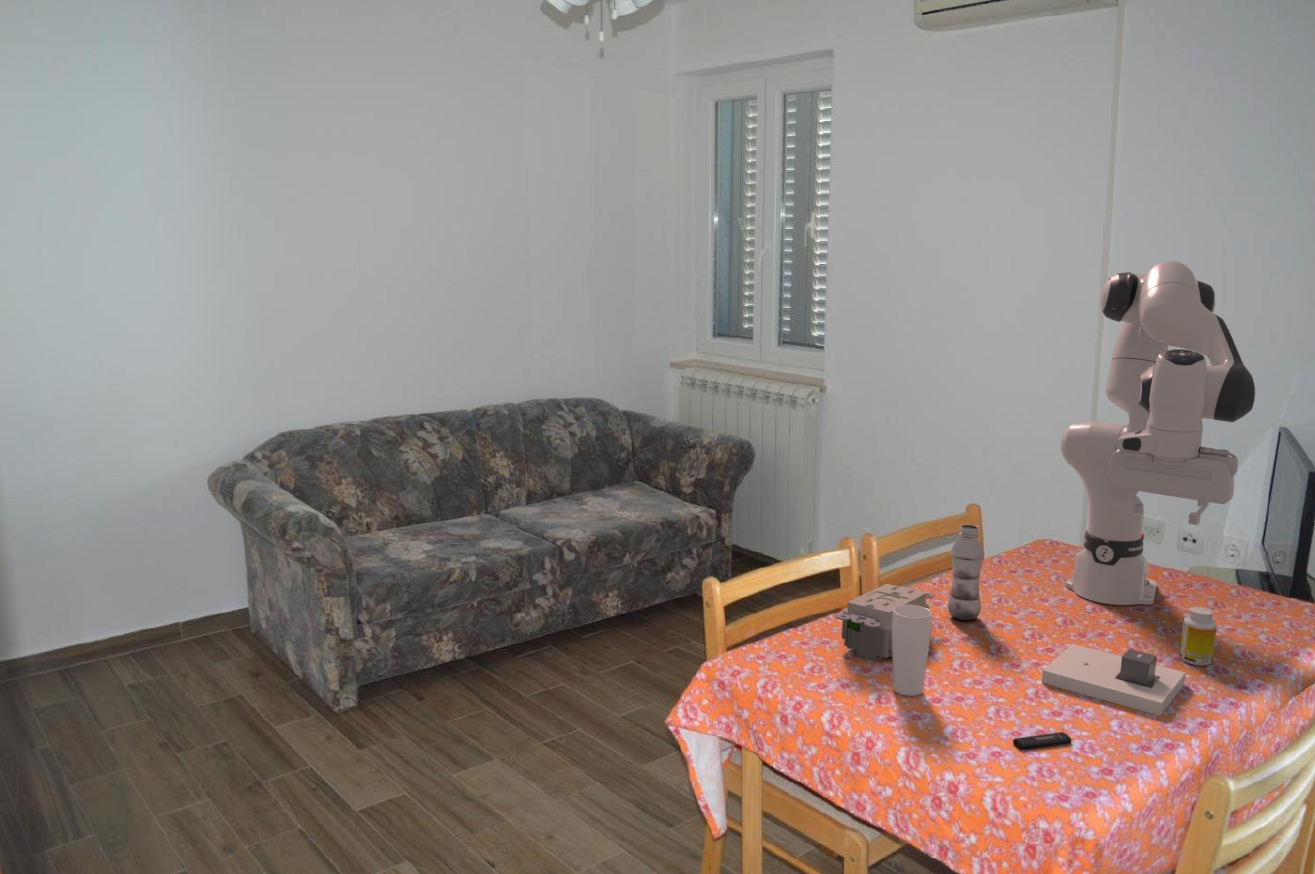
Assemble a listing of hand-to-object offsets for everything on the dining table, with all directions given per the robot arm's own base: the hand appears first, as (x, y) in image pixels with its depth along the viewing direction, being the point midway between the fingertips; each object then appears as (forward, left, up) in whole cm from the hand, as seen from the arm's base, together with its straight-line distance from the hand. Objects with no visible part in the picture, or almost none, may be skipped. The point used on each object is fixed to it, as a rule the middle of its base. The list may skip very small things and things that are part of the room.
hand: (1164, 518), depth 182 cm
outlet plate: (+8, -4, -30) cm, 31 cm away
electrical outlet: (+18, -44, -30) cm, 57 cm away
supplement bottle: (-13, +5, -30) cm, 33 cm away
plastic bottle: (-5, -38, -30) cm, 49 cm away
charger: (+8, 0, -30) cm, 31 cm away
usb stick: (+38, -6, -31) cm, 49 cm away
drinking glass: (+35, -31, -30) cm, 55 cm away
